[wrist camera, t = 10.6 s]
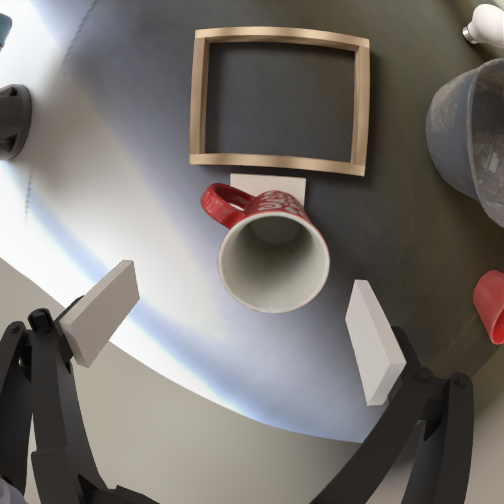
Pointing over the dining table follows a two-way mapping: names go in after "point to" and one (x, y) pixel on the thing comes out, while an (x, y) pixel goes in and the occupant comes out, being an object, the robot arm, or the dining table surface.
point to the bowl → (471, 135)
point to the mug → (267, 249)
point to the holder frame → (284, 36)
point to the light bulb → (486, 26)
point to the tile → (269, 185)
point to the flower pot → (491, 304)
